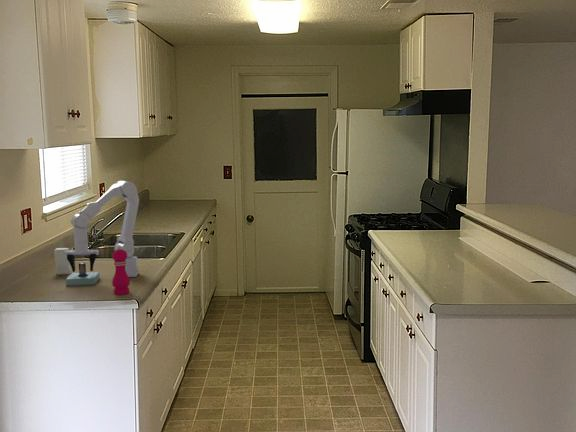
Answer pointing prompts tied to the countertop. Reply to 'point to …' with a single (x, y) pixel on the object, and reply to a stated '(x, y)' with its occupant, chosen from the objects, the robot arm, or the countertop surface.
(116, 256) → the pepper mill
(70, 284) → the socket block
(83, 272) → the metal peg
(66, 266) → the skincare box
